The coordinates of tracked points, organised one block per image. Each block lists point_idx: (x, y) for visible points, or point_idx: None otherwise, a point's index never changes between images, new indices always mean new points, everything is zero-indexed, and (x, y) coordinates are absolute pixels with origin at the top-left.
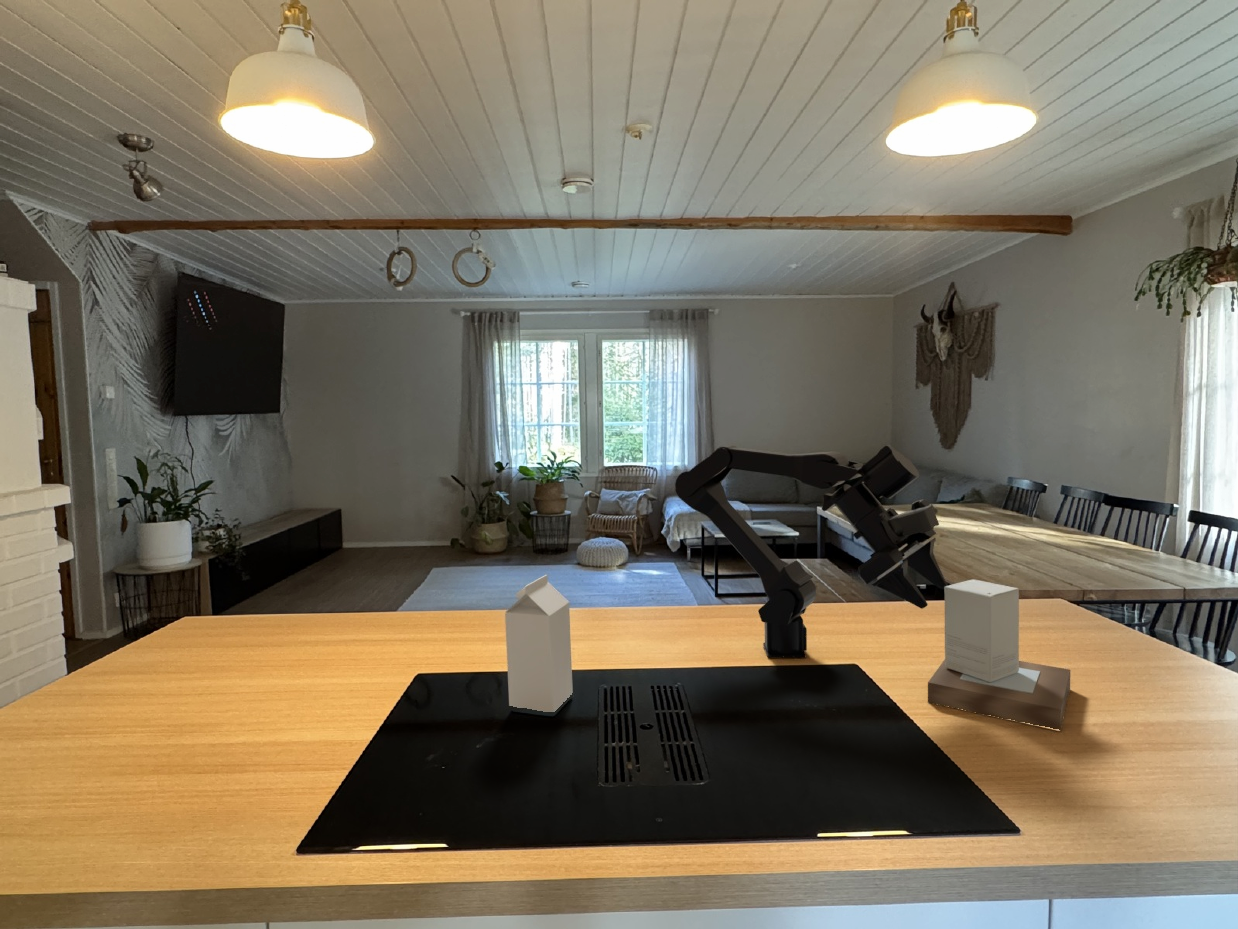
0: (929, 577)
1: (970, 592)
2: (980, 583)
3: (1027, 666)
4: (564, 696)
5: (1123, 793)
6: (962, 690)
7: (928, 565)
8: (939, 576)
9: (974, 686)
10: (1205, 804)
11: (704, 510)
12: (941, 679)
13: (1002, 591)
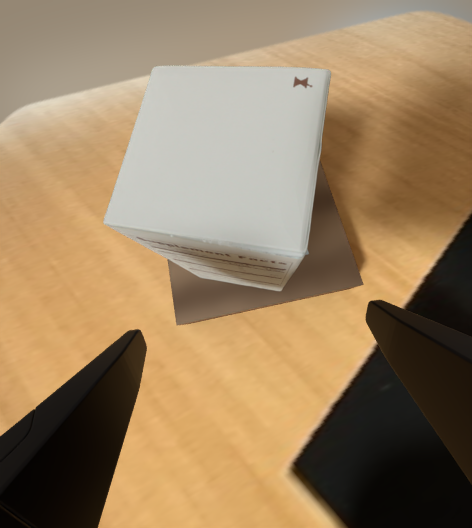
0: (123, 417)
1: (319, 141)
2: (170, 165)
3: None
4: None
5: (393, 73)
6: (344, 234)
7: (69, 463)
8: (117, 366)
9: (318, 227)
10: (353, 36)
11: None
12: (332, 274)
13: (237, 70)
